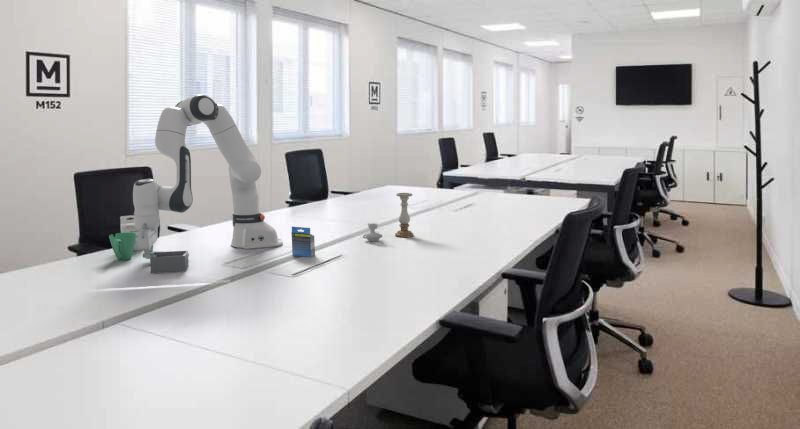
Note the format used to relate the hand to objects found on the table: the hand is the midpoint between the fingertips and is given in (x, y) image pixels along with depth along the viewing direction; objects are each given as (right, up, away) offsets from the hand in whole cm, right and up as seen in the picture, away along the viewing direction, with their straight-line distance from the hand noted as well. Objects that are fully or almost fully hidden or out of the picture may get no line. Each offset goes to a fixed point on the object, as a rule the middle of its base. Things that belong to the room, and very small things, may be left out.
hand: (149, 257), depth 240 cm
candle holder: (+99, +6, +58) cm, 115 cm away
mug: (-14, -2, +8) cm, 16 cm away
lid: (+6, -1, +1) cm, 6 cm away
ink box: (-18, +1, +27) cm, 32 cm away
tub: (+12, -5, -10) cm, 16 cm away
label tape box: (+57, -1, +17) cm, 59 cm away
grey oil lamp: (+84, +4, +46) cm, 96 cm away
